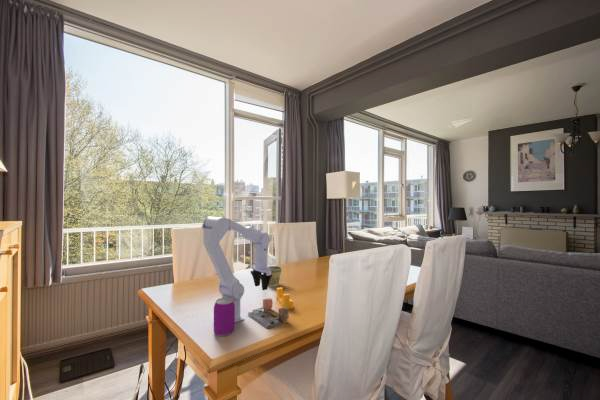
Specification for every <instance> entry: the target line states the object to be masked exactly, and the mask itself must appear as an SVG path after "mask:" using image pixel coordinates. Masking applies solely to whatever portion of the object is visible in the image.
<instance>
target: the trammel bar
mask: <svg viewBox="0 0 600 400" xmlns="http://www.w3.org/2000/svg"><path fill="white" fill-rule="evenodd" d="M263 311H264V312H265V313H267V314H269V315H270V316H272V317H273V318H272V319H269V320H267V321H268V322H269V321H272V320H276V319H277V320H278V321H280V322H281V323H280V324H286V323H288V319H289V316H290V315H289V314H290V312H289V308H287V307H284V308H283V307H280V308H278V312H277V311H276V310H274V309H273V308H271V309H267V310H264V309H263Z"/></svg>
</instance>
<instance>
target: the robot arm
mask: <svg viewBox="0 0 600 400" xmlns="http://www.w3.org/2000/svg"><path fill="white" fill-rule="evenodd" d="M201 229H202V230H203V233H202V234H203V237H202V238H203V240H202V241H203V246H204V248H205V251H206V253H207V255H208V257H209V259H210V261H211V263H212V265H213V267H214V270H215V272H216V274H217V277H218V278H219V280H218V282H217V284H218V291H219V293H220V294H221V298H231V299H233V302H234V305H235V323H238V322H241V321H244V320H245V318H244V317H243V316H242V315H241V299H242V297H243V296H244V293H245V286H244V285H243V284H242V283H241V282H240V280H239V279H238V278H237V277H235V275H234V274H233V271H232V269H231V267H230V265H229V263H228V260H227V258H226V256H225V253H224V251H223V249H222V246H221V244H220V242H221V241H222V240H223V238H224V237H225V235H226V234H227V233H228V231H233V232H234V233H235V232H236V233H238V234H242V235H241V236H242V238H243V239H245V240H247V241H250V242H252V243H253V244H254V264H251V269H252V270H250V274H251V276H252V278H253V283H254V286H255V287H259V286H261V288H262V289H261V290H262V291H267V290H268V287H269V286H268V284H269V281H270V279H271V277H272V274H271V270H269V267H268V258H269V257H268V252H269V250H268V249H269V245H270V243H271V237H270V235H269V234H268V232H263V231H262V230H261V229H259V228H258V229H257V228H255V226H254V225H247V226H245V225H242V224H240V223H238V222H236V221H234V220H233V219H230V218H227V217H225V216H224V217H223V216H221V217H219V216H213V215H212V216H211V215H209V216H207V217H206V218H205V219H204V220H203V222H202V225H201Z"/></svg>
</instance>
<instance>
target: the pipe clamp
mask: <svg viewBox="0 0 600 400" xmlns="http://www.w3.org/2000/svg"><path fill="white" fill-rule="evenodd" d="M276 302H277V303H278V304H279V305H280V306H281V308H284V307H287V308H289V309H290V310H291V309H294V301H293V300H292V299H291V297H290V294H289V293H284V288H283V287H276Z"/></svg>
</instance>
